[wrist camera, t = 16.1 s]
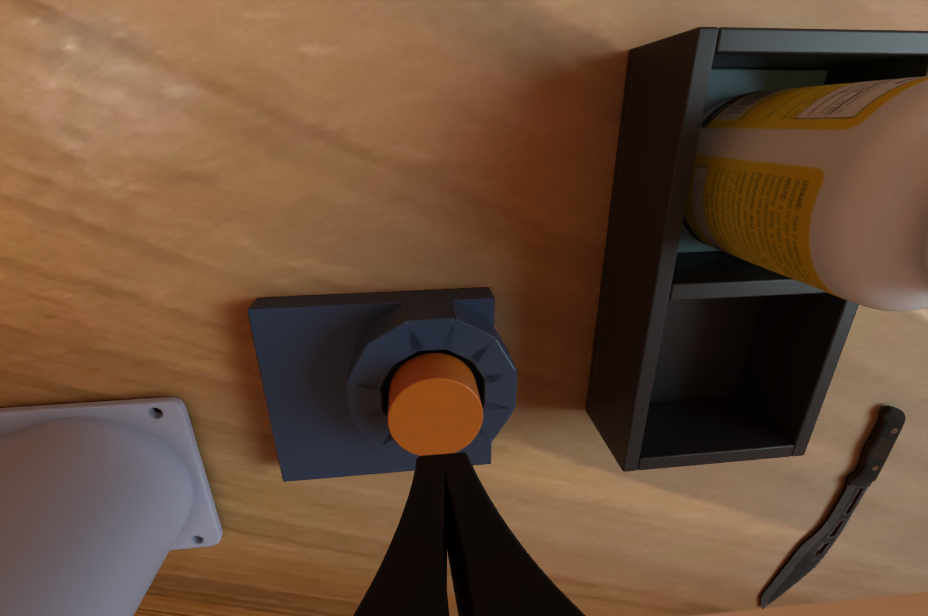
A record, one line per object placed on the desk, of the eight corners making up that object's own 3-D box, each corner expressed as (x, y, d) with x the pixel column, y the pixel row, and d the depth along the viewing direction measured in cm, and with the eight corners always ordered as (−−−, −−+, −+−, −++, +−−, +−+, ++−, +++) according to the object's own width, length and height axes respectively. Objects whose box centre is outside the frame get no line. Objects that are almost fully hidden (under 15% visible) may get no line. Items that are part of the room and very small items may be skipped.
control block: (289, 462, 20) (270, 516, 17) (256, 296, 17) (227, 329, 14) (498, 445, 21) (511, 494, 18) (503, 285, 18) (520, 315, 15)
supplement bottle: (736, 266, 18) (1061, 409, 9) (633, 203, 17) (901, 300, 8) (831, 141, 17) (1336, 163, 8) (728, 59, 15) (1205, -36, 6)
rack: (585, 410, 21) (622, 472, 17) (628, 49, 15) (698, 26, 12) (737, 399, 22) (804, 455, 18) (833, 52, 16) (959, 31, 12)
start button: (392, 429, 17) (390, 461, 15) (386, 355, 16) (383, 381, 14) (475, 423, 17) (483, 453, 16) (476, 349, 16) (484, 375, 14)
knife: (752, 606, 29) (793, 604, 29) (757, 613, 28) (799, 611, 29) (860, 402, 23) (910, 404, 23) (868, 408, 22) (919, 409, 23)
